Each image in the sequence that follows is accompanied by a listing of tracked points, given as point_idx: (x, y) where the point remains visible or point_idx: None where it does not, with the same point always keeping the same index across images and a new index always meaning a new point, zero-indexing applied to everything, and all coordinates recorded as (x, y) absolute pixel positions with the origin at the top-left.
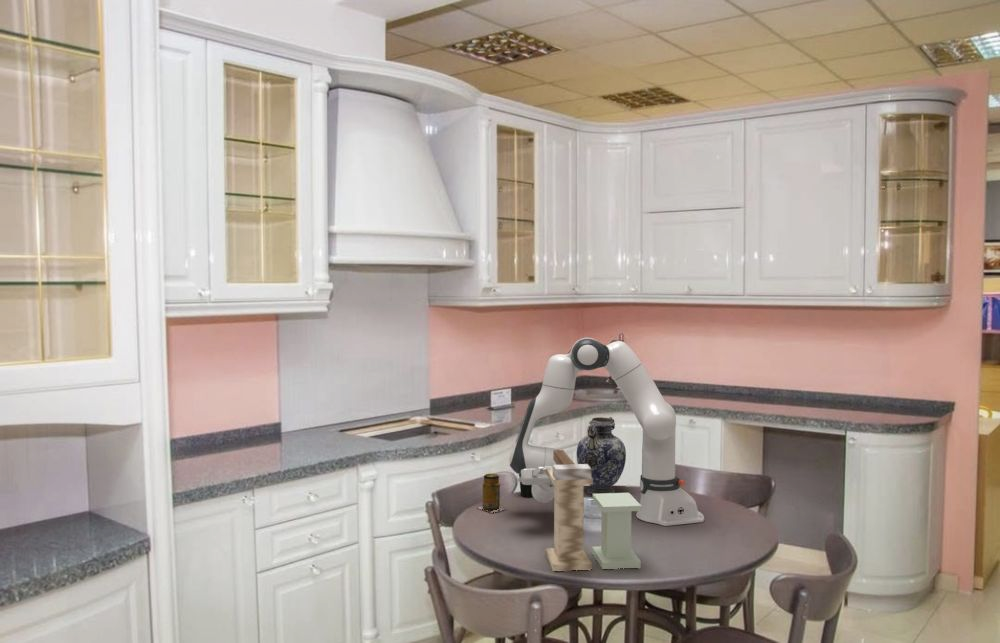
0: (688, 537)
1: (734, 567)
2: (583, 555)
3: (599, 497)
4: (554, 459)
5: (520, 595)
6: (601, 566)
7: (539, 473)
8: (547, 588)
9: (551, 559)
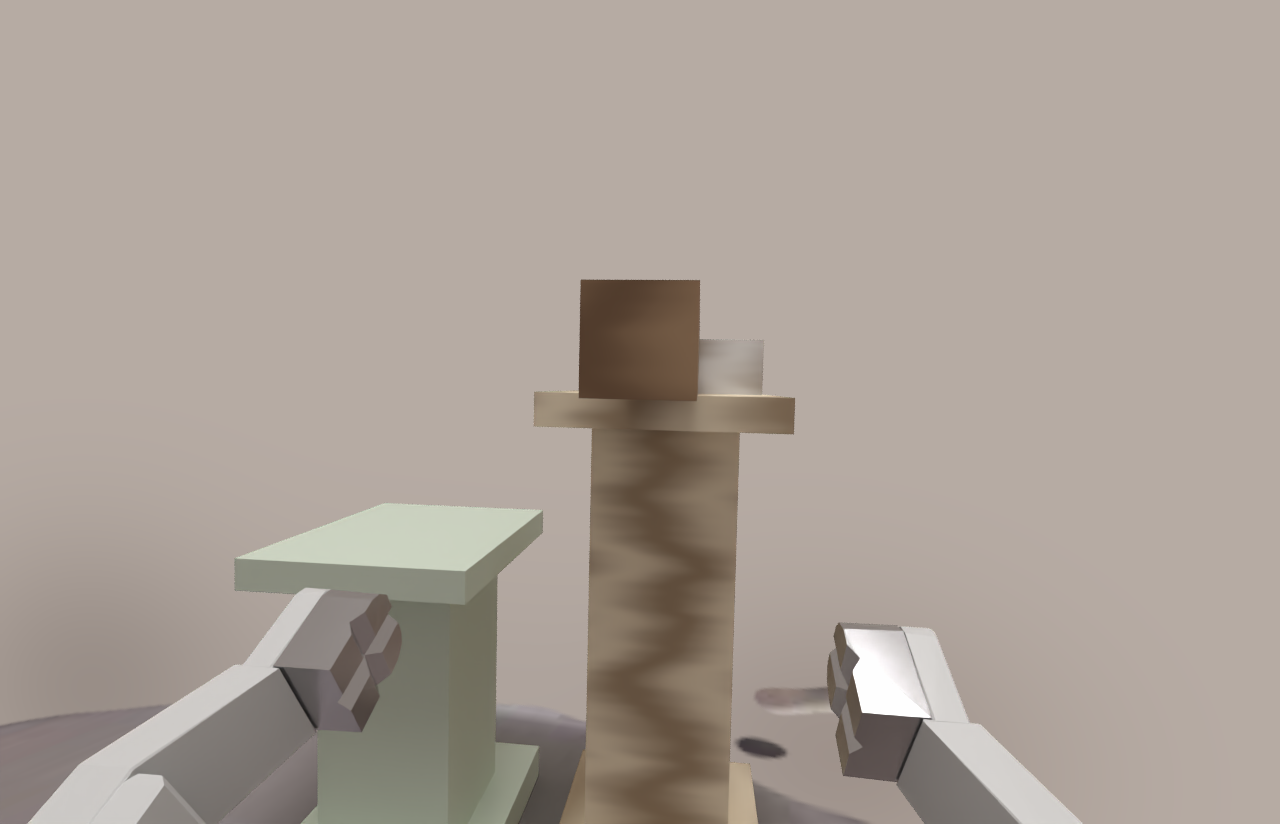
0: None
1: (67, 715)
2: (580, 818)
3: (473, 546)
4: (697, 380)
5: None
6: (534, 777)
7: (899, 761)
8: (780, 707)
9: (752, 807)
